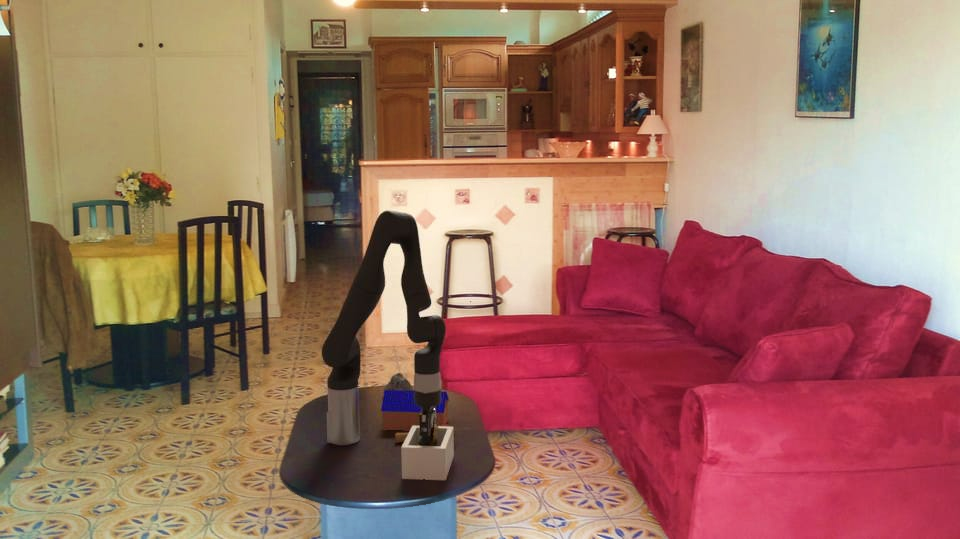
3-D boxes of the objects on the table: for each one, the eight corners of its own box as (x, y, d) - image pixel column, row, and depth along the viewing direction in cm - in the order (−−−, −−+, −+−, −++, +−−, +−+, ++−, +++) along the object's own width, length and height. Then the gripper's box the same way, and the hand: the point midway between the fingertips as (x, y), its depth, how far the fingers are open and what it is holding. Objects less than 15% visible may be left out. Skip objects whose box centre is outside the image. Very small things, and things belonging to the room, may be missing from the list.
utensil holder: (426, 457, 239) (426, 417, 237) (444, 462, 235) (443, 422, 233) (413, 464, 234) (412, 423, 232) (430, 469, 231) (430, 428, 229)
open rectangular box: (402, 478, 227) (401, 447, 226) (413, 454, 244) (412, 425, 243) (445, 480, 226) (445, 448, 225) (453, 456, 243) (453, 426, 241)
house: (444, 433, 262) (443, 397, 260) (381, 431, 264) (380, 395, 262) (449, 420, 274) (448, 385, 272) (389, 418, 276) (388, 384, 274)
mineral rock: (382, 394, 300) (382, 367, 299) (412, 392, 302) (412, 366, 301) (384, 406, 288) (384, 378, 286) (415, 404, 290) (415, 376, 288)
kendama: (395, 452, 250) (454, 445, 248) (392, 431, 250) (451, 424, 248) (400, 447, 258) (457, 440, 256) (397, 426, 258) (454, 420, 256)
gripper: (418, 379, 239) (419, 433, 241) (409, 394, 225) (410, 452, 227) (444, 379, 238) (445, 434, 241) (437, 395, 224) (437, 452, 227)
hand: (428, 442), depth 234 cm, fingers open, 8 cm apart
